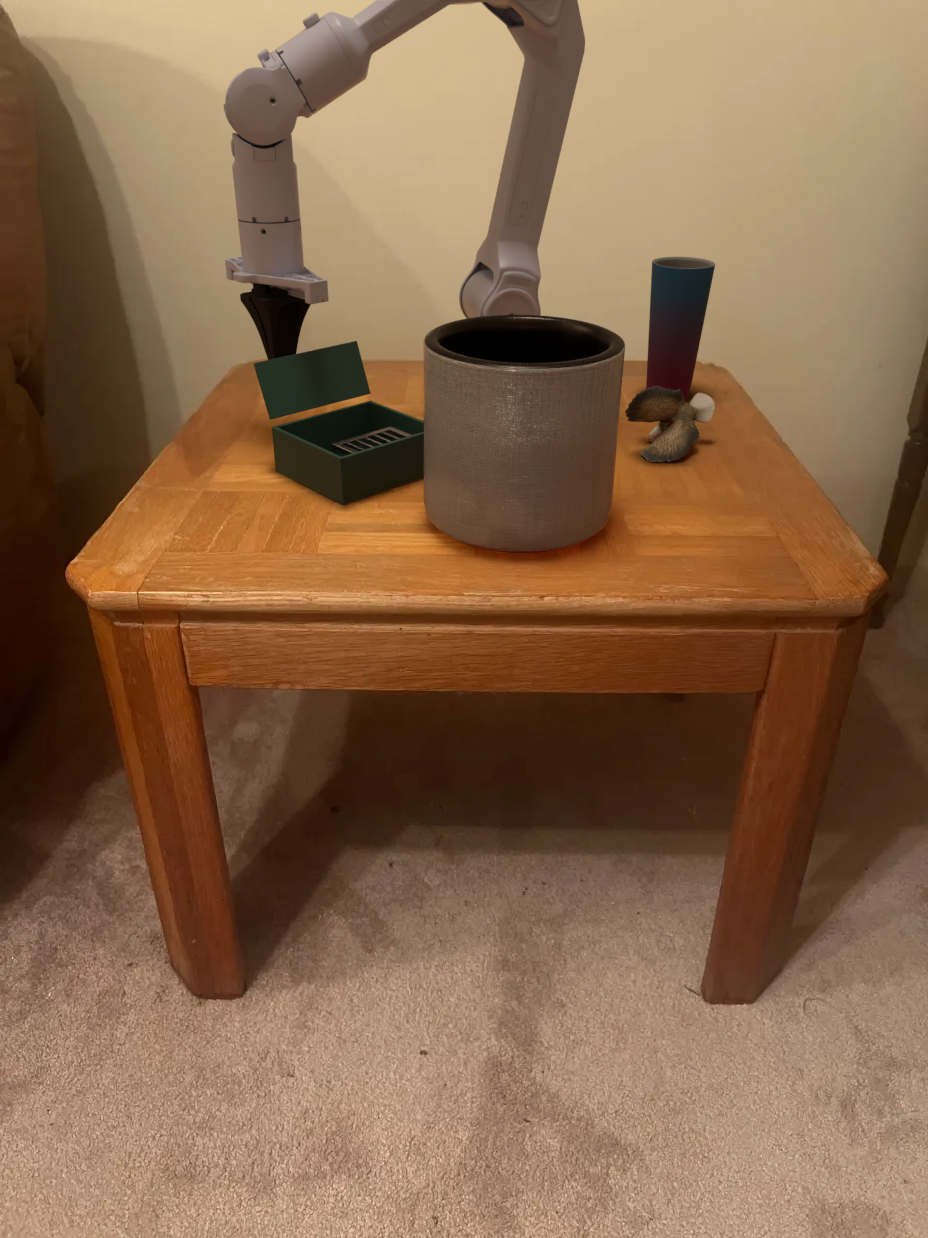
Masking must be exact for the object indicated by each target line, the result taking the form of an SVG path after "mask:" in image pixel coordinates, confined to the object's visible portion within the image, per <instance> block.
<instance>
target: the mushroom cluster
mask: <svg viewBox="0 0 928 1238" xmlns="http://www.w3.org/2000/svg"><path fill="white" fill-rule="evenodd" d="M715 405H716V402H715V401H714V399H713V397H712V396H710V395H708V394H706V393H704V392H697V393H695V394H694V396H692V399H691V400H690V401H689V402H688V403H687V404H686V400H685V399H684V396H683V394H682V392H681V390H680V389H679V390H672V389H670V388H669V389H665V388H664V387H663V388H662V387H660V386H652V388H651V387H649V389H646V388H645V389H644V390H641V391H640V392H637V393H636V394H635V396H634V397H633V398H632V399H631V401H630V402H629V403H628V404H627V408H626V409H625V411H624V413H625V418H627V421H628V422H632V423H635V422H636V423H640V422H641V423H657V422H659V423H658V424H657V425H656V426H655V427H654V428H653V429H652V430H651V431H650V432H649V433H648V437H647V438H646V442H647V443H649V442H650V441H652V443H650V444H649V445H647V446H646V447H645V448H644V449H642V450H641V451H640V454H641V455H642V458H644V459H645V460H646V461H647V462H650V463H657V462H658V463H664V462H666V461H667V462H668V463H670V462H672V461H673V462H674V461H678V460H680V459H681V458H683V457H685V455H686V454H688V452H689V450H690V449H691V448H692V446H693V445H694V443H695V442H697V441H698V440H699V438H700V431H699V429H698V427H697V425H696V422H697V423H703V424H709V422H710V421H711V420H712V418H713V416H714V414H715V411H716V407H715Z"/></svg>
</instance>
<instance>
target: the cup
mask: <svg viewBox="0 0 928 1238" xmlns="http://www.w3.org/2000/svg"><path fill="white" fill-rule="evenodd" d="M715 268H716V263H715V262H714V261H712V260H710V259H706V258H701V257H691V256H663V257H657V258H654V259H652V261H651V279H650V280H651V281H650V298H649V299H650V301H649V320H648V321H649V322H648V340H647V342H648V343H647V362H646V363H647V365H646V382H645V383H646V384H645V389H649V387H651V388H652V386H660V387H662V388H663V387H664V388H665V389H669V388H670V389H672V390H679V389H680V390H681V392H682V394H683V396H684V399H685V401H687V400H688V399H689V398H690V394H691V390H692V389H691V388H692V383H693V380H694V379H693V378H694V373H695V368H696V364H697V358H698V353H699V349H700V343H701V338H702V333H703V328H704V323H705V318H706V314H707V308H708V304H709V298H710V293H711V288H712V283H713V278H714V273H715Z"/></svg>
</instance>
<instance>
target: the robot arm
mask: <svg viewBox="0 0 928 1238" xmlns="http://www.w3.org/2000/svg"><path fill="white" fill-rule="evenodd" d="M480 3H481V4H482V5H483V6H484V7H485V8H486V9H487V10H488V11H489V12H490V13H491V14H493V15H494V16H495V17H496V18H497V19H499V20H500V21H501V22H502V23H503V24H504V26H506V28H507V30H508V31H509V33H510V35H511V36H512V39H513V40H514V41H515V43H516V45H517V47H518V48H519V50H520V51H521V53H522V55H523V59H524V60H523V66H522V71H521V75H520V80H519V83H518V89H517V94H516V98H515V103H514V108H513V112H512V117H511V122H510V127H509V132H508V136H507V141H506V145H505V150H504V155H503V160H502V165H501V169H500V173H499V178H498V183H497V187H496V191H495V192H496V193H495V197H494V202H493V205H492V206H493V207H492V211H491V216H490V220H489V225H488V230H487V234H486V237H485V238H484V240H483V241H482V243H481V244H480V246H479V248H478V249H477V251H476V255H475V261H474V263H473V266H472V269H471V270H470V272H469V273H468V274H467V275H466V276H465V278H464V280H463V281H462V284H461V285H460V289H459V293H458V303H459V307H460V310H461V312H462V314H463V316H464V318H465V319H467V318H474V317H481V316H493V315H540V316H542V315H541V314H542V312H541V304H540V300H539V285H540V282H541V278H542V274H541V273H542V272H541V267H540V259H539V253H538V248H539V244H540V241H541V240H540V239H541V236H542V231H543V228H544V224H545V223H544V222H545V218H546V214H547V210H548V207H549V202H550V198H551V194H552V189H553V185H554V181H555V177H556V173H557V169H558V164H559V160H560V156H561V151H562V147H563V144H564V139H565V135H566V131H567V127H568V122H569V118H570V114H571V109H572V105H573V102H574V97H575V93H576V89H577V84H578V81H579V76H580V72H581V68H582V63H583V59H584V56H585V50H586V49H585V48H586V37H585V31H584V26H583V23H582V22H583V21H582V15H581V12H580V7H579V0H374V1H373V2H372V3H370V4H369V5H367V6H366V7H365V8H364V9H362V10H361V11H360V12H358V13H357V14H355V15H354V16H353V17H349V16H346V15H343V14H340V13H337V12H335V11H328V12H327V13H325V14H323V15H322V16H321V17H320V16H319V15H318V13H317V12H313V13H311V14H310V15H308V16H307V17H305V18H304V19H303V20H302V24H303V26H304V29H302V30H301V31H300V32H298V33H296V34H295V35H294V36H292V37H290V38H289V39H288V40H287V41H285V42H284V43H282V44H280V45H279V46H278V47H276V48H275V49H273V50H272V51H271V52H270V50H268V48H264V49H263V50H261V51H260V52H259V53H257V55H256V56H257V59H258V61H259V62H260V64H261V66H251V67H247V68H245V69H244V70H242V71H241V72H239V73H237V74H236V75H235V76H234V77H233V78H232V79H231V80H230V82H229V84H228V86H227V89H226V90H225V96H224V104H223V112H224V114H225V118H226V120H227V122H228V124H229V125H230V127H231V128H232V129H233V130H234V132H232V133H231V137H232V138H231V140H230V148H231V149H230V150H231V154H232V157H233V158H234V160H233V163H232V165H231V171H232V179H233V188H234V198H235V207H236V216H237V226H238V235H239V236H238V237H239V244H240V245H239V246H240V255H241V256H238V257H230V258H225V259H224V265H225V272H226V279H227V280H230V281H234V282H238V283H242V284H251V285H252V288H251V289H250V291H245V292H241V293H240V294H239V299H240V302H241V303H242V304H243V306H244V308H245V309H246V311H247V312H248V314H249V316H250V317H251V320H252V321H253V323H254V326H255V328H256V330H257V332H258V335H259V337H260V340H261V343H262V347H263V349H264V352H265V355H266V358H267V360H270V359H275V358H280V357H284V356H289V355H293V354H297V353H298V352H297V351H298V345H299V340H300V335H301V331H302V328H303V327H302V326H303V323H304V320H305V318H306V315H307V313H308V311H309V309H310V307H311V305H316V304H321V303H327V302H329V300H330V299H329V286H328V280H327V279H326V278H323V277H320V276H318V274H315V273H314V272H313V271H311V270H310V269H309V268H307V267H306V266H305V261H304V259H305V258H304V246H303V234H302V233H303V232H302V221H301V220H302V219H301V208H300V207H301V205H300V193H299V179H298V168H297V167H298V166H297V163H296V162H295V160H294V150H293V147H294V146H293V135H292V133H293V132H294V129H295V127H296V124H297V119H298V118H299V117H304V118H305V119H309V118H311V117H312V116H313V115H315V114H317V113H318V112H319V111H321V110H322V109H324V108H326V107H327V106H328V105H330V104H331V103H332V102H335V101H336V100H337V99H339V98H340V97H342V96H343V95H344V94H346V93H347V92H349V91H350V90H352V89H353V88H355V87H356V86H358V85H359V84H360V83H362V82H364V81H365V80H366V79H367V77H368V74H369V67H370V61H371V58H372V56H373V54H374V53H375V52H377V51H379V50H380V49H383V48H384V47H385V46H387V45H389V44H390V43H391V42H393V41H394V40H397V38H399V37H401V36H402V35H404V34H406V33H407V32H409V31H410V30H412V29H414V28H415V27H418V25H420V24H421V23H424V22H425V21H426V20H428V19H430V18H431V17H432V16H434V15H435V14H437V13H438V12H440V11H442V10H444V9H445V8H446V7H449V6H455V5H457V6H459V5H461V6H462V5H463V6H464V5H474V4H480Z"/></svg>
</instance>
